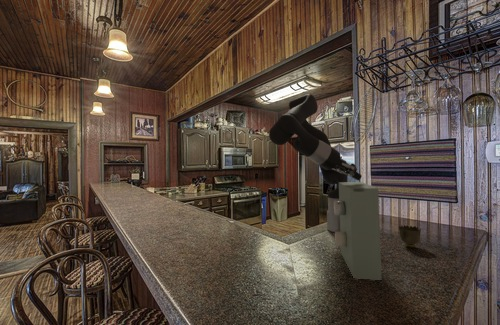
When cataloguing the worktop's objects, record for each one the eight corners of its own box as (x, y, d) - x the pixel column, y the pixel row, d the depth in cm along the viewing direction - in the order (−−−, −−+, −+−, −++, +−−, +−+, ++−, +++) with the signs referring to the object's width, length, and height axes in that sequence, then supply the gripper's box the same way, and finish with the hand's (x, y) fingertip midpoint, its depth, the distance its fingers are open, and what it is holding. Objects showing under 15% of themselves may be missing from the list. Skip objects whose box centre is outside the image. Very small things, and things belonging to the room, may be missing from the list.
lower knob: (337, 248, 79) (336, 234, 79) (335, 243, 84) (334, 229, 84) (359, 249, 78) (358, 234, 78) (355, 244, 83) (355, 230, 83)
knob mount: (353, 279, 72) (349, 188, 71) (341, 253, 91) (338, 182, 91) (381, 280, 70) (378, 188, 70) (363, 254, 90) (360, 182, 89)
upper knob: (336, 216, 79) (335, 202, 79) (334, 213, 84) (333, 199, 84) (358, 216, 78) (357, 202, 78) (354, 213, 83) (354, 199, 83)
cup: (425, 250, 91) (424, 230, 91) (404, 250, 92) (403, 229, 92) (415, 243, 98) (415, 225, 98) (396, 243, 99) (395, 224, 99)
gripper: (339, 144, 73) (378, 170, 78) (317, 145, 86) (351, 167, 90) (328, 165, 73) (368, 190, 77) (308, 162, 86) (343, 184, 90)
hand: (359, 177), depth 84 cm, fingers closed
